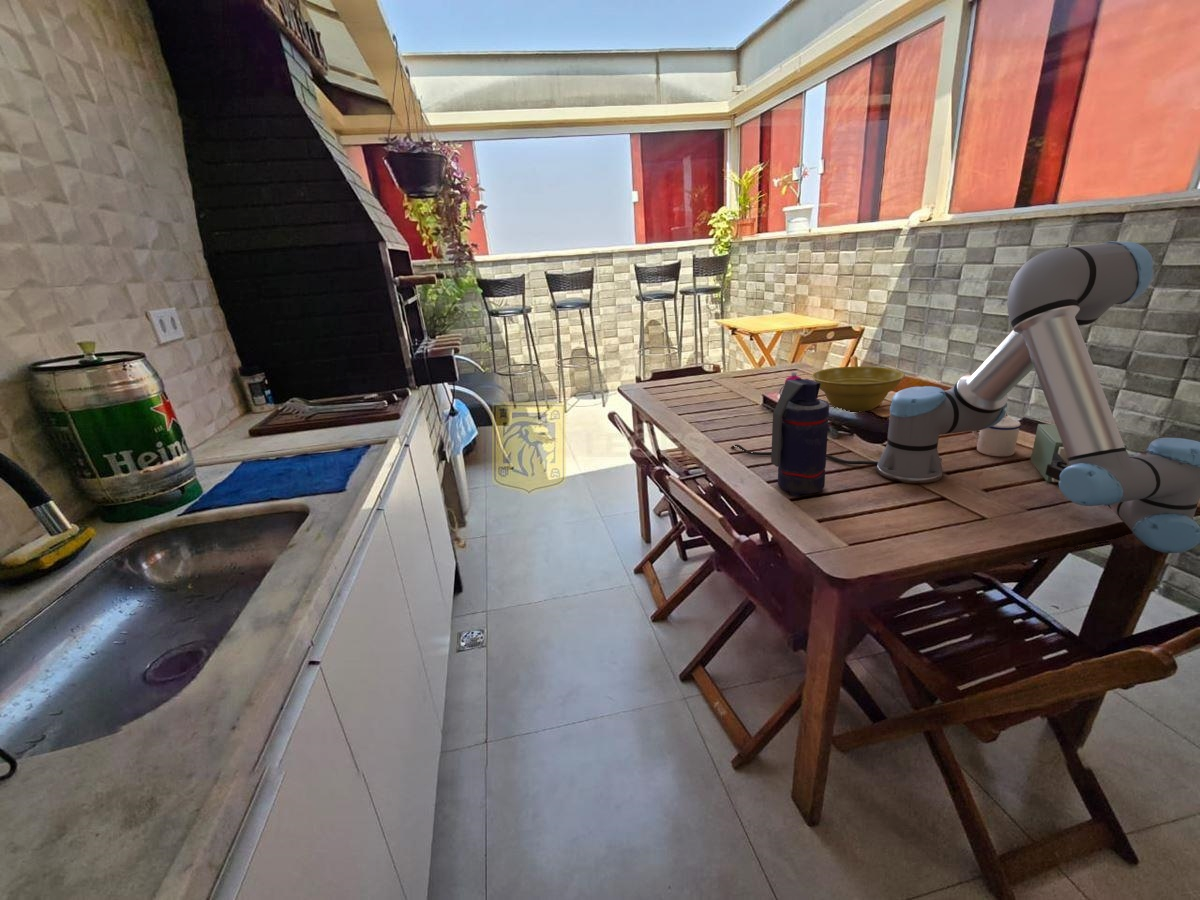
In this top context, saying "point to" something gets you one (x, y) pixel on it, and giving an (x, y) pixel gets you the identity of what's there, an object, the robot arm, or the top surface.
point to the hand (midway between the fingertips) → (1092, 460)
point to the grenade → (800, 437)
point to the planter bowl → (857, 386)
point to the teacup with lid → (999, 438)
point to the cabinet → (1046, 448)
